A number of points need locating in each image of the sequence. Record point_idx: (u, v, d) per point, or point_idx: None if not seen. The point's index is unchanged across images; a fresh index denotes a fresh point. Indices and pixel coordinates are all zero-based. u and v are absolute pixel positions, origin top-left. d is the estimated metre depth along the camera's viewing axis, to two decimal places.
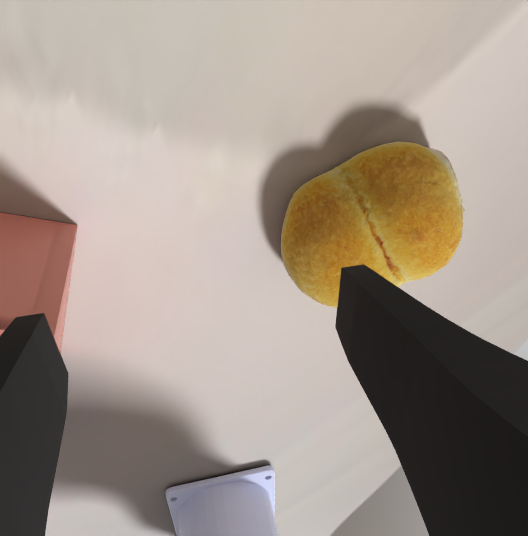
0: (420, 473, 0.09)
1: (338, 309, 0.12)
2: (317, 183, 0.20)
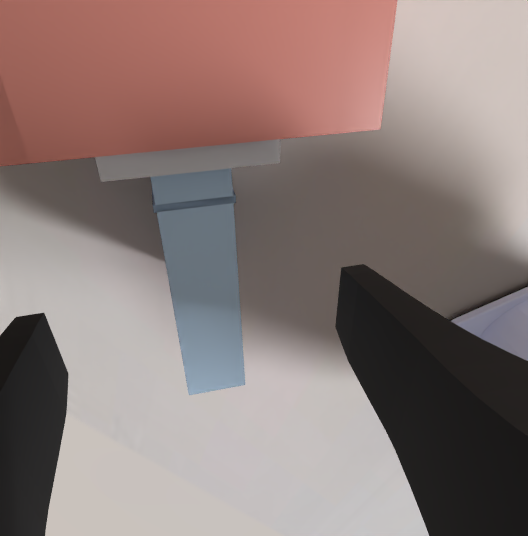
0: (420, 473, 0.09)
1: (338, 309, 0.12)
2: None
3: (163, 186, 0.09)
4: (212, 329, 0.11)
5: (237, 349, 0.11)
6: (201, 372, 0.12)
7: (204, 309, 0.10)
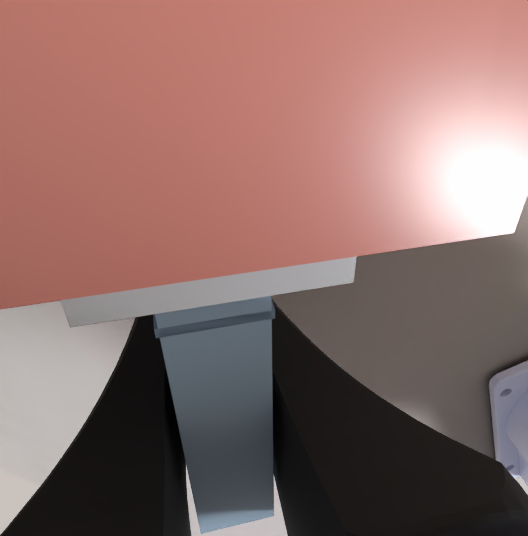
0: (286, 505, 0.09)
1: None
2: None
3: None
4: (234, 464, 0.08)
5: (266, 481, 0.09)
6: (218, 509, 0.09)
7: (223, 444, 0.08)
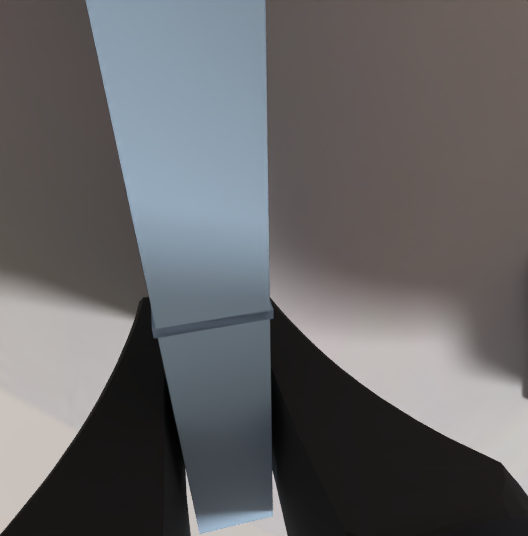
0: (286, 505, 0.09)
1: None
2: None
3: (167, 304, 0.06)
4: (232, 464, 0.08)
5: (264, 481, 0.09)
6: (216, 509, 0.09)
7: (222, 444, 0.08)
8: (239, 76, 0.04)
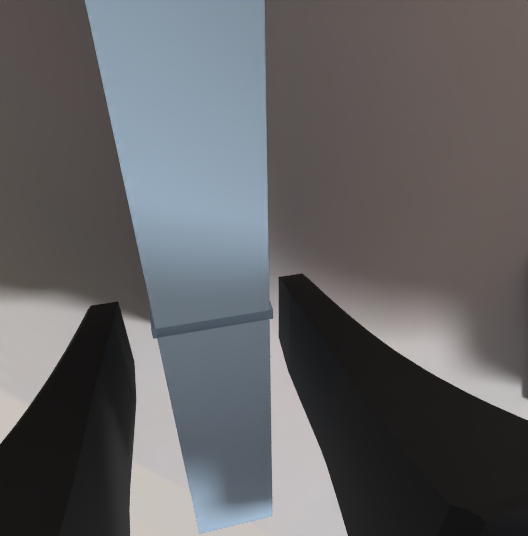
0: (344, 491, 0.09)
1: (279, 319, 0.12)
2: None
3: (167, 304, 0.06)
4: (232, 464, 0.08)
5: (264, 481, 0.09)
6: (216, 509, 0.09)
7: (221, 444, 0.08)
8: (238, 76, 0.04)
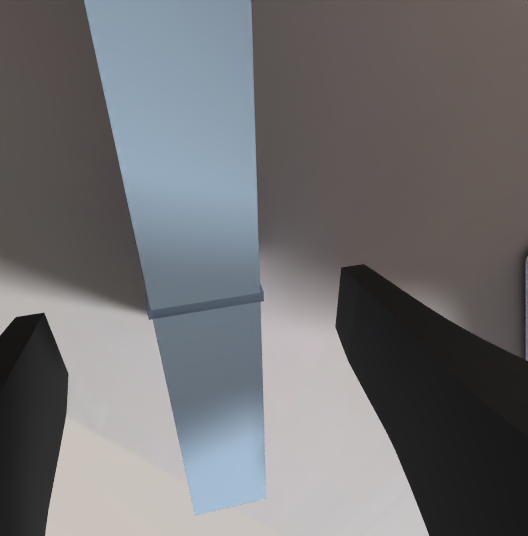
0: (420, 473, 0.09)
1: (338, 309, 0.12)
2: None
3: (162, 286, 0.06)
4: (226, 446, 0.08)
5: (258, 463, 0.09)
6: (211, 491, 0.09)
7: (216, 425, 0.08)
8: (227, 66, 0.05)
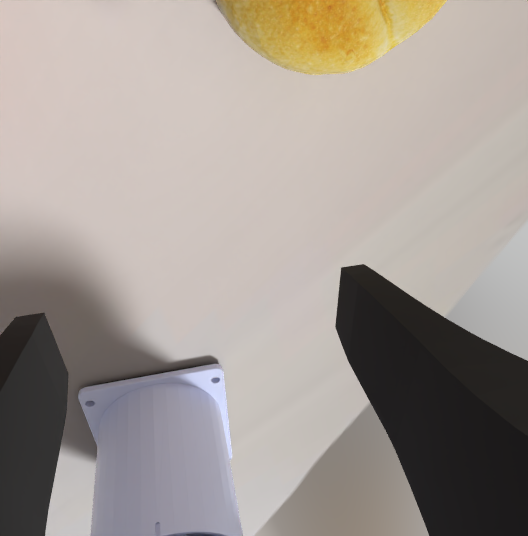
0: (420, 473, 0.09)
1: (338, 309, 0.12)
2: None
3: None
4: None
5: None
6: None
7: None
8: None
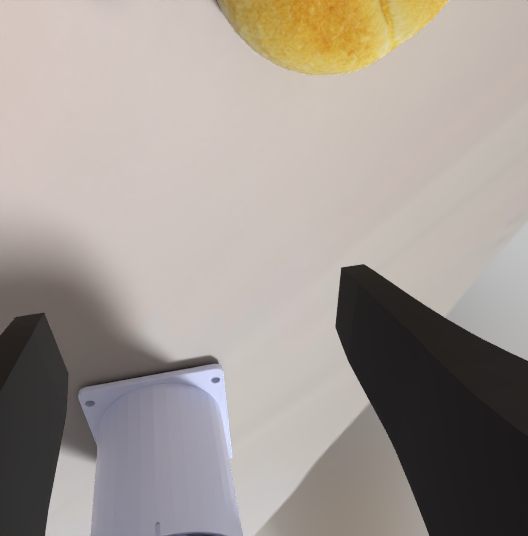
0: (420, 473, 0.09)
1: (338, 309, 0.12)
2: None
3: None
4: None
5: None
6: None
7: None
8: None
